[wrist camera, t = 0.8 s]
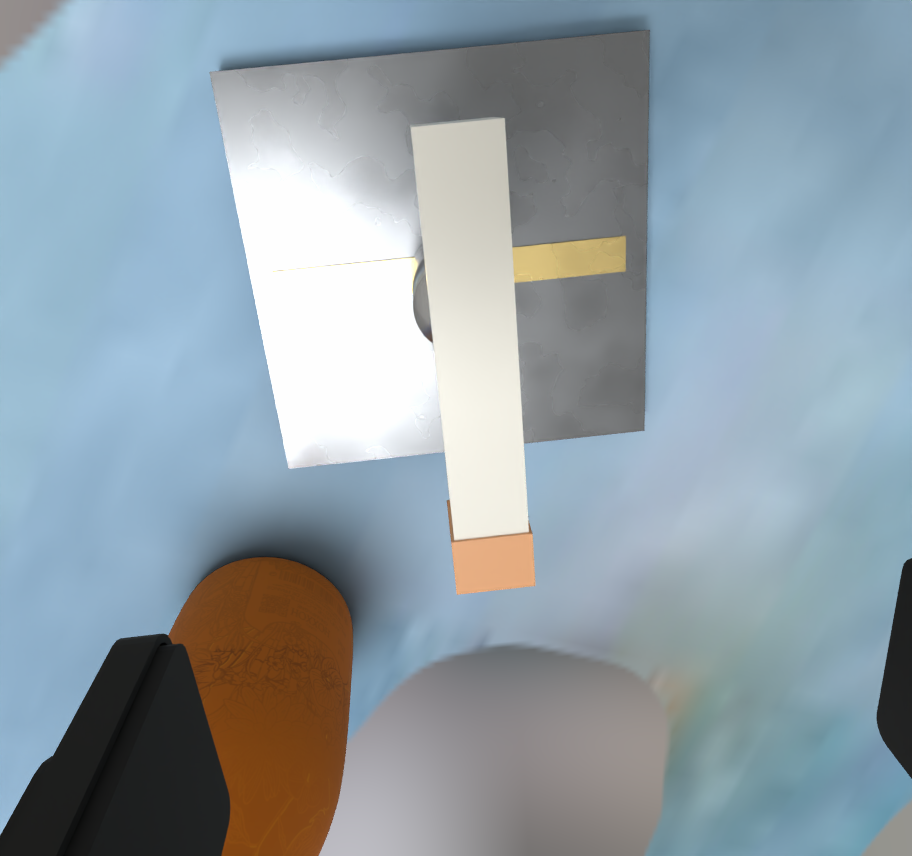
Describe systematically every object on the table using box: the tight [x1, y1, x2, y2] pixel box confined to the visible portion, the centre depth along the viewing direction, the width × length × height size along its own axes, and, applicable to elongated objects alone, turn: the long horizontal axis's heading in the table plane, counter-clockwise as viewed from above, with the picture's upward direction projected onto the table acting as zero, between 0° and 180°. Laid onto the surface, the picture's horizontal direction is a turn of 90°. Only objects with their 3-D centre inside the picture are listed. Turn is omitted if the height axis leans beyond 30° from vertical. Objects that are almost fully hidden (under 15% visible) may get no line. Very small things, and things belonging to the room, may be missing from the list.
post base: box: [210, 30, 650, 469], centre depth 32 cm, size 18×18×8 cm
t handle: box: [410, 117, 535, 595], centre depth 25 cm, size 3×14×7 cm, turn 5°
